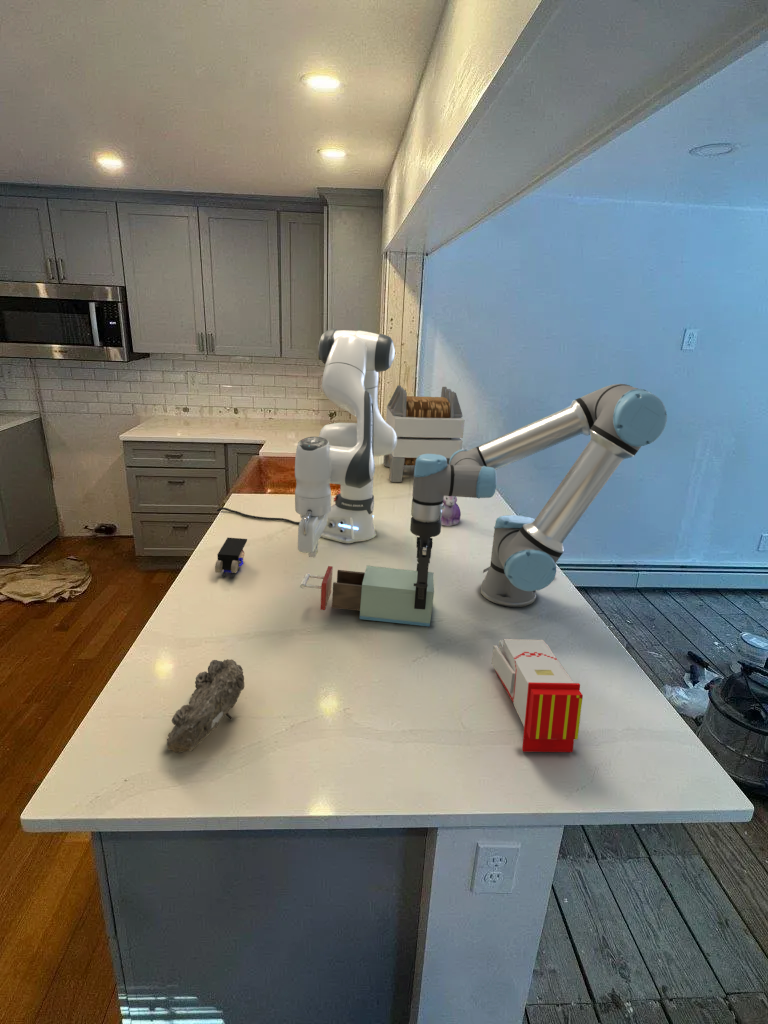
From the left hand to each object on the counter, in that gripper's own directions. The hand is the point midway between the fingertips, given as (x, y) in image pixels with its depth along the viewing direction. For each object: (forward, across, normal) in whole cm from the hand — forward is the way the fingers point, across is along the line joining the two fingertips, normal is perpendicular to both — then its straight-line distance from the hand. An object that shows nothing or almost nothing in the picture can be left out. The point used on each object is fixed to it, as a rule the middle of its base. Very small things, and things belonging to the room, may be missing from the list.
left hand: (313, 555), depth 144 cm
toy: (+15, -33, -50) cm, 62 cm away
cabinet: (+14, 0, -22) cm, 26 cm away
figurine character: (+15, +18, +28) cm, 36 cm away
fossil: (+15, -44, +11) cm, 48 cm away
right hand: (+10, 0, -28) cm, 30 cm away
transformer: (+15, +135, -26) cm, 139 cm away
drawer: (+13, 0, -8) cm, 15 cm away
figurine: (+15, +70, -38) cm, 81 cm away
